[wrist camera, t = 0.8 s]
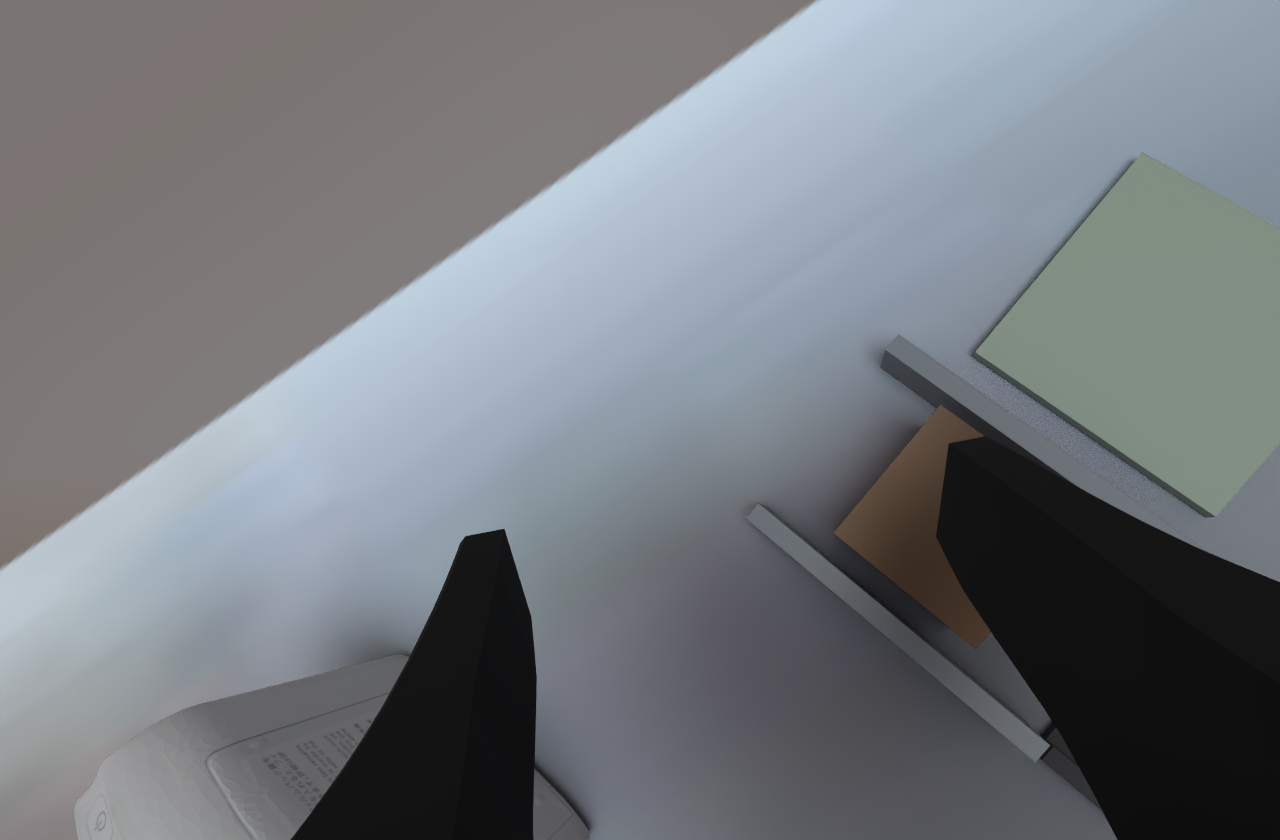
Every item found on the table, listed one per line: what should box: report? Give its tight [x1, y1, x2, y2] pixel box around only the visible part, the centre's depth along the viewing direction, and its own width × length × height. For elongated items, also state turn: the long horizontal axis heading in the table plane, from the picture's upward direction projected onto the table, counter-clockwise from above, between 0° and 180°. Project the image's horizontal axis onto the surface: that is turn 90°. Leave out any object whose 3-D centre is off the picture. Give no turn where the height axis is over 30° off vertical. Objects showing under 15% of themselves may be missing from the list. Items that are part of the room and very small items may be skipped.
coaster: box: [972, 152, 1280, 517], centre depth 23 cm, size 8×8×1 cm
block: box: [834, 405, 991, 649], centre depth 22 cm, size 4×4×4 cm
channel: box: [746, 334, 1210, 763], centre depth 23 cm, size 10×7×2 cm
